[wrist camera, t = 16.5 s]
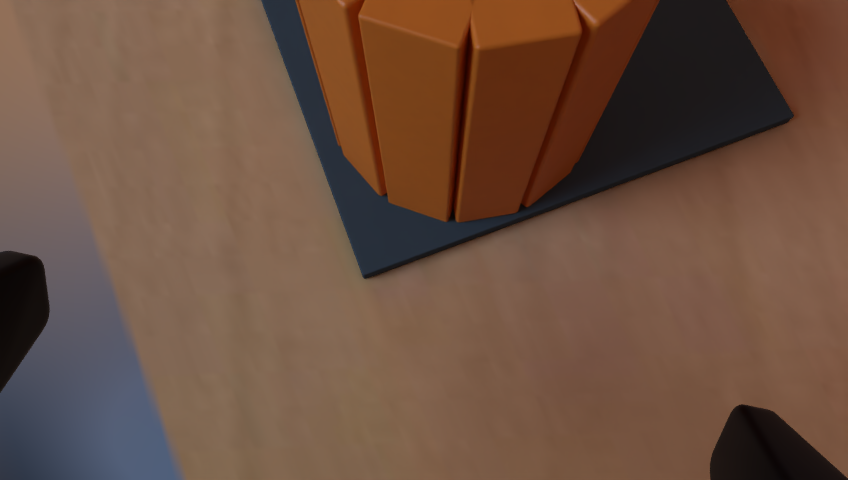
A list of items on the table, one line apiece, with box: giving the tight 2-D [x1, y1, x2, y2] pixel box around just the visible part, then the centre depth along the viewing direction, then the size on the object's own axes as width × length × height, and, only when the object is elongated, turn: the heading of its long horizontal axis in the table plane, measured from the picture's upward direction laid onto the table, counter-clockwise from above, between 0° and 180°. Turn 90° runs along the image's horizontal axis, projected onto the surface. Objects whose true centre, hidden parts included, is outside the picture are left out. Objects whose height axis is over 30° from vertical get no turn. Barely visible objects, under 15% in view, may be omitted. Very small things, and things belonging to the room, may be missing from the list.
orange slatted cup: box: [295, 0, 660, 223], centre depth 15 cm, size 7×7×8 cm
